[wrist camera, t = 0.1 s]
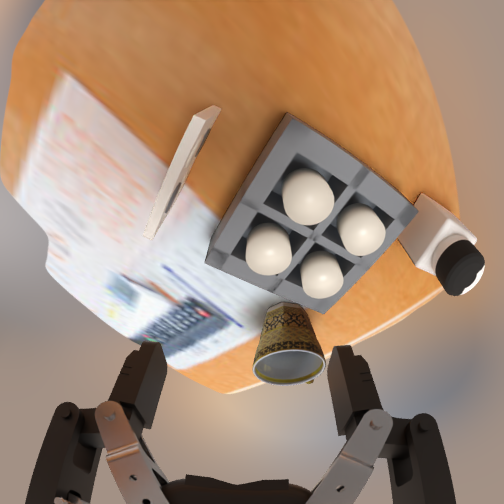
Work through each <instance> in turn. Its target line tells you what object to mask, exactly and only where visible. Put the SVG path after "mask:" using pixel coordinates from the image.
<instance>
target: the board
mask: <svg viewBox="0 0 504 504" xmlns="http://www.w3.org/2000/svg"><path fill="white" fill-rule="evenodd" d="M300 168H310V169H314V170H316V171H318V172H319V173H320V174H321V175H322V176H323V177H324V178H325V180H326V182H327V183H328V185H329V187H330V189H331V190H332V192H333V195H334V207H333V209H332V211H331V213H330V215H329V216H328V217H327V218H326V219H325V220H323V221H321V222H320V223H317V224H314V225H302V224H298V223H296V222H294V221H293V220H292V219H290V218H289V216H288V215H287V214H286V212H285V209H284V203H283V198H282V191H281V189H282V184H283V181H284V179H285V178H286V177H287V175H288V174H290V173H291V172H292V171H294V170H297V169H300ZM355 203H363V204H366V205H368V206H370V207H371V208H372V209H373V211H374V212H375V213H376V215H377V216H378V218H379V219H380V220H381V222H382V223H383V225H384V227H385V232H386V233H385V239H384V241H383V243H382V245H381V246H380V247H379V248H378V249H377V250H376V251H374V252H373V253H371V254H368V255H364V256H357V255H353V254H351V253H349V252H348V251H347V250H346V248H345V246H344V244H343V242H342V239H341V237H340V235H339V232H338V230H337V225H336V223H337V218H338V216H339V214H340V213H341V211H342V210H343V209H344V208H346V207H347V206H349V205H351V204H355ZM418 212H419V211H418V210H417V209H416V208H415V207H414V206H413V205H412V204H411V203H410V202H409V201H408V200H407V198H406V197H405V196H404V195H403V194H402V193H400V192H399V191H398V190H397V189H396V188H395V187H393V186H392V185H391V184H390V183H389V182H387V181H386V180H385V179H384V178H382V177H381V176H380V175H379V174H377V173H376V172H375V171H374V170H372V169H371V168H370V167H368V166H367V165H366V164H364V163H363V162H362V161H360V160H359V159H358V158H356V157H355V156H354V155H352V154H351V153H349V152H348V151H347V150H345V149H344V148H342V147H341V146H340V145H338V144H337V143H335V142H334V141H332V140H331V139H329V138H328V137H326V136H325V135H323V134H322V133H320V132H319V131H317V130H316V129H314V128H313V127H311V126H309V125H308V124H306V123H305V122H303V121H301V120H300V119H298V118H296V117H295V116H293V115H291V114H290V113H288V112H287V113H286V115H285V116H284V118H283V119H282V121H281V122H280V124H279V126H278V127H277V129H276V130H275V132H274V133H273V135H272V137H271V138H270V140H269V141H268V143H267V145H266V146H265V148H264V150H263V151H262V153H261V154H260V156H259V158H258V159H257V161H256V163H255V164H254V166H253V167H252V169H251V171H250V172H249V174H248V176H247V177H246V179H245V181H244V182H243V184H242V186H241V188H240V189H239V191H238V193H237V194H236V196H235V198H234V199H233V201H232V203H231V205H230V206H229V208H228V210H227V211H226V213H225V215H224V217H223V218H222V220H221V222H220V224H219V225H218V227H217V229H216V231H215V233H214V234H213V236H212V238H211V240H210V244H209V248H208V251H207V255H206V259H205V263H206V264H208V265H210V266H212V267H214V268H217V269H219V270H221V271H223V272H226V273H228V274H230V275H232V276H235V277H237V278H239V279H242V280H244V281H246V282H248V283H251V284H253V285H255V286H258V287H260V288H262V289H265V290H267V291H269V292H272V293H274V294H276V295H279V296H281V297H283V298H286V299H288V300H291V301H293V302H295V303H298V304H300V305H303V306H305V307H307V308H310V309H312V310H315V311H317V312H320V313H322V314H325V313H326V312H327V311H328V310H329V309H330V308H331V307H332V306H333V305H334V304H335V303H336V302H337V301H338V300H339V299H340V298H341V297H342V296H343V295H344V294H345V293H346V292H347V291H348V290H349V289H350V288H351V287H352V286H353V285H354V284H355V283H356V282H357V281H358V280H359V279H360V278H361V277H362V276H363V275H364V274H365V273H366V271H367V270H368V269H369V268H370V267H371V266H372V265H373V264H374V263H375V262H376V261H377V260H378V259H379V257H380V256H381V255H382V254H383V253H384V252H385V251H386V250H387V249H388V247H389V246H390V245H391V244H392V243H393V242H394V241H395V239H396V238H397V237H398V236H399V235H400V234H401V233H402V231H403V230H404V229H405V228H406V227H407V225H408V224H409V223H410V222H411V221H412V219H413V218H414V217H415V216H416V214H417V213H418ZM262 223H275V224H278V225H280V226H281V227H283V228H284V229H285V230H286V231H287V233H288V235H289V240H290V247H291V253H292V260H291V263H290V265H289V266H288V267H287V268H286V269H285V270H284V271H283V272H281V273H279V274H276V275H261V274H258V273H256V272H254V271H253V270H252V269H251V268H250V267H249V266H248V264H247V262H246V246H247V237H248V234H249V232H250V231H251V230H252V229H253V228H254V227H255V226H257V225H259V224H262ZM315 251H327V252H330V253H332V254H333V255H334V256H335V257H336V258H337V261H338V264H339V267H340V270H341V272H342V275H343V285H342V287H341V289H340V290H339V291H338V292H337V293H336V294H334V295H332V296H330V297H327V298H322V299H317V298H312V297H310V296H308V295H307V294H306V293H305V292H304V290H303V286H302V279H301V274H300V264H301V262H302V260H303V259H304V258H305V257H306V256H307V255H308V254H310V253H312V252H315Z"/></svg>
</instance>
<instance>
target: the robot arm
mask: <svg viewBox="0 0 504 504" xmlns="http://www.w3.org/2000/svg"><path fill="white" fill-rule="evenodd" d="M327 373H328V375H327V376H328V382H329V387H330V392H331V397H332V403H333V408H334V413H335V418H336V425H337V430H338V436H341V435H346V440H347V441H346V443H345V445H344V446H343V448H342V449H341V451H340V453H339V454H338V456H337V457H336V458H335V460H334V461H333V463H332V464H331V466H330V467H329V469H328V470H327V471H326V473H325V474H324V475H323V477H322V478H321V479H320V481H319V482H318V483H317V485H316V486H315V487H314V488H313V490H312V491H311V492H310V491H309V490H307V489H305V488H303V487H300V486H298V485H293V484H289V480H288V479H285V480H261V481H256V482H251V483H246V484H240V485H234V484H230V483H227V482H224V481H220V480H217V479H214V478H210V477H202V476H194V475H187V474H186V478H185V479H180V480H175V481H172V482H169V481H168V479H167V477H166V476H165V474H164V473H163V472H162V470H161V469H160V467H159V466H158V464H157V463H156V461H155V459H154V457H153V456H152V454H151V452H150V450H149V448H148V446H147V444H146V442H145V440H144V438H143V436H142V430H143V428H147V429H151V426H152V423H153V420H154V416H155V412H156V409H157V405H158V402H159V398H160V395H161V391H162V388H163V385H164V381H165V378H166V375H167V362H166V359H165V356H164V353H163V350H162V347H161V344H160V343H159V342H152V341H144V342H143V343H142V345H141V347H140V350H139V351H137V350H134V351H133V352H132V353H131V354H130V355H129V356H128V357H127V358H126V360H125V363H124V365H123V367H122V369H121V371H120V374H119V376H118V378H117V381H116V383H115V386H114V388H113V390H112V393H111V395H110V397H109V399H108V401H105V402H103V403H101V404H100V405H99V406H98V407H97V408H91V409H79V408H78V407H77V406H76V405H75V404H74V403H71V402H64V403H62V404H60V405H59V406H58V407H57V408H56V410H55V413H54V415H53V417H52V420H51V423H50V425H49V428H48V430H47V433H46V436H45V438H44V441H43V444H42V447H41V450H40V453H39V456H38V459H37V462H36V465H35V469H34V472H33V475H32V479H31V483H30V486H29V490H28V494H27V498H26V502H25V504H90V500H91V495H92V490H93V485H94V481H95V476H96V472H97V468H98V464H99V460H100V456H101V452H102V448H106V450H107V453H108V455H107V456H106V460H107V463H108V465H109V468H110V470H111V472H112V475H113V477H114V479H115V481H116V483H117V486H118V488H119V490H120V492H121V494H122V496H123V498H124V500H125V502H126V504H353V503H354V502H355V500H356V499H357V497H358V496H359V494H360V492H361V490H362V489H363V487H364V486H365V484H366V483H367V481H368V479H369V477H370V476H371V474H372V472H373V469H374V467H373V465H374V463H375V461H376V459H377V458H387V462H388V468H389V474H390V482H391V490H392V498H393V504H456V500H455V494H454V489H453V484H452V479H451V474H450V470H449V466H448V462H447V457H446V454H445V450H444V446H443V443H442V439H441V435H440V432H439V429H438V425H437V423H436V420H435V419H434V418H433V417H432V416H431V415H429V414H425V413H422V414H418V415H416V416H415V417H414V418H413V419H401V418H394V417H391V416H390V414H388V413H387V412H386V411H384V410H383V408H382V406H381V402H380V399H379V396H378V393H377V390H376V387H375V384H374V381H373V378H372V375H371V373H370V369H369V366H368V363H367V362H366V361H365V359H364V358H363V357H362V356H361V355H357V356H354V353H353V350H352V347H351V346H350V345H344V346H334V348H333V351H332V354H331V358H330V361H329V365H328V370H327Z"/></svg>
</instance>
